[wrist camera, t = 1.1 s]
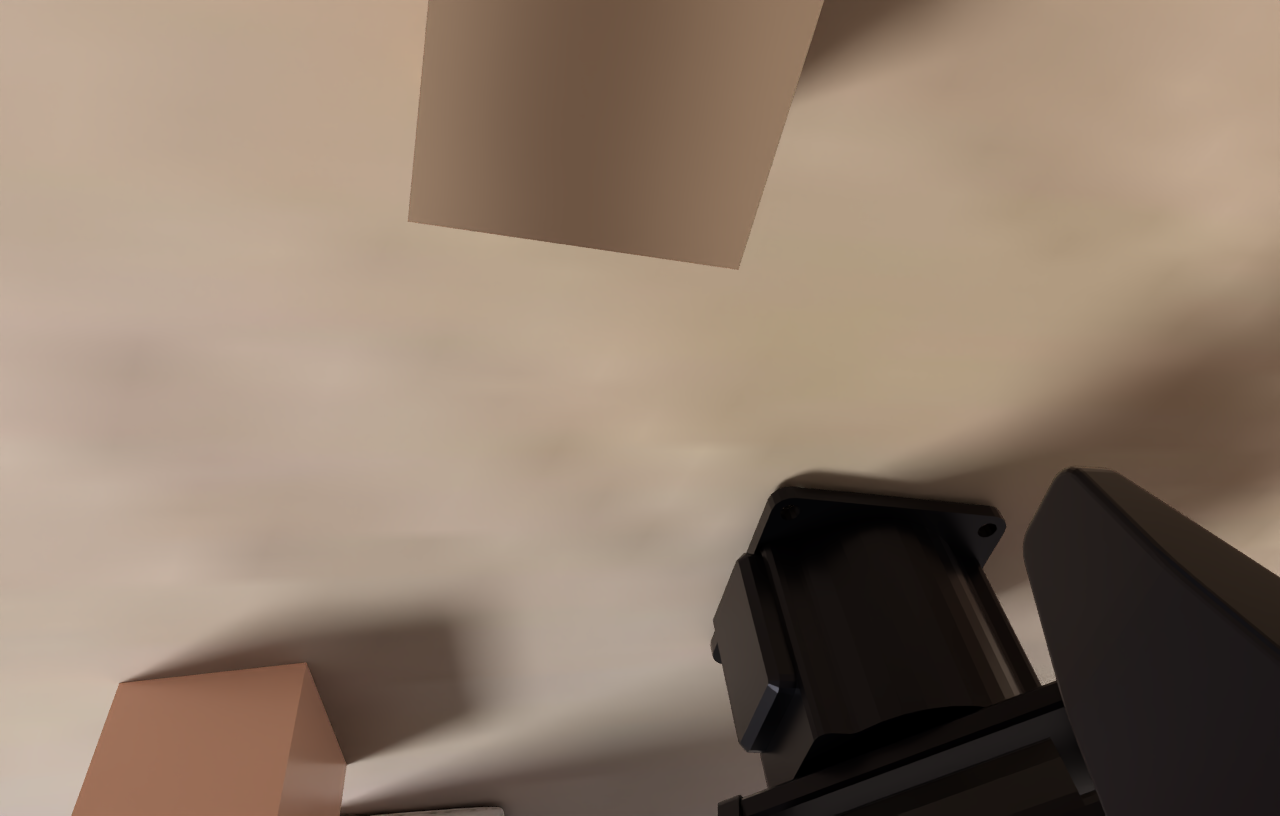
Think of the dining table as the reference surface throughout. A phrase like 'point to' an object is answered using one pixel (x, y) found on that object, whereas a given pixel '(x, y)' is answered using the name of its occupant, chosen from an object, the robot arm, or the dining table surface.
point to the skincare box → (455, 812)
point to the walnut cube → (606, 120)
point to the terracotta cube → (217, 748)
